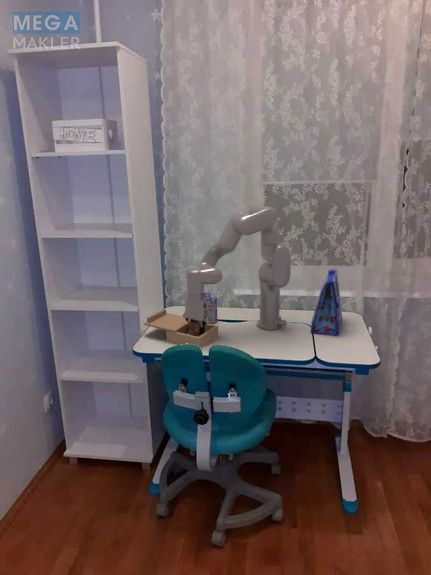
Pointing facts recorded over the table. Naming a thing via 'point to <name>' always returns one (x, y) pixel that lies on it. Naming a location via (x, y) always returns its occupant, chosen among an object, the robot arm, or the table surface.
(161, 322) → the lid
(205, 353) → the table surface
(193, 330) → the walnut block
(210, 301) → the ink cartridge box
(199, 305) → the robot arm
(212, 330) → the mailer box
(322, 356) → the table surface
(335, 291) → the lunch bag
